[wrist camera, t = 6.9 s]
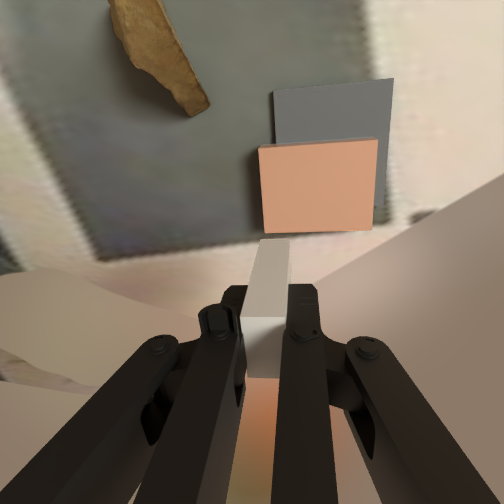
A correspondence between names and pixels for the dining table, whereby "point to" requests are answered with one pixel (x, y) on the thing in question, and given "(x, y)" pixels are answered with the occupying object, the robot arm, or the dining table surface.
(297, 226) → the tile
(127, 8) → the rock
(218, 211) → the dining table surface
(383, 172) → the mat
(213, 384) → the robot arm
